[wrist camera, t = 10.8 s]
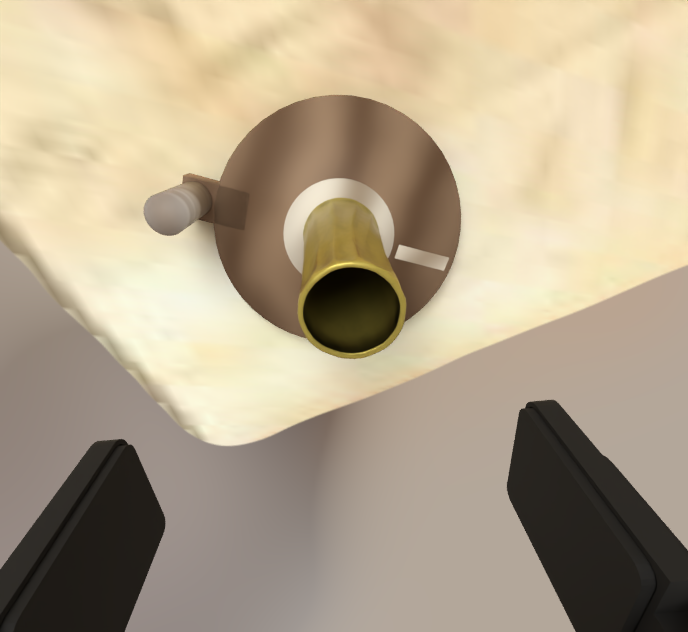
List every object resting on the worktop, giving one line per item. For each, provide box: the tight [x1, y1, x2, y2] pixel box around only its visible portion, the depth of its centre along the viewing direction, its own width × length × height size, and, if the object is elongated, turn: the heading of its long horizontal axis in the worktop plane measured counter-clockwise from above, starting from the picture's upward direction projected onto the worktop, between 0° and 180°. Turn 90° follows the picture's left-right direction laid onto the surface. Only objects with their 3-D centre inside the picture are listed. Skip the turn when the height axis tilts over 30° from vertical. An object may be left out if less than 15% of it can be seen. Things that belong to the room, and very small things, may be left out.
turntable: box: [144, 95, 461, 338], centre depth 29 cm, size 23×20×8 cm
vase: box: [297, 198, 406, 359], centre depth 24 cm, size 6×6×14 cm
